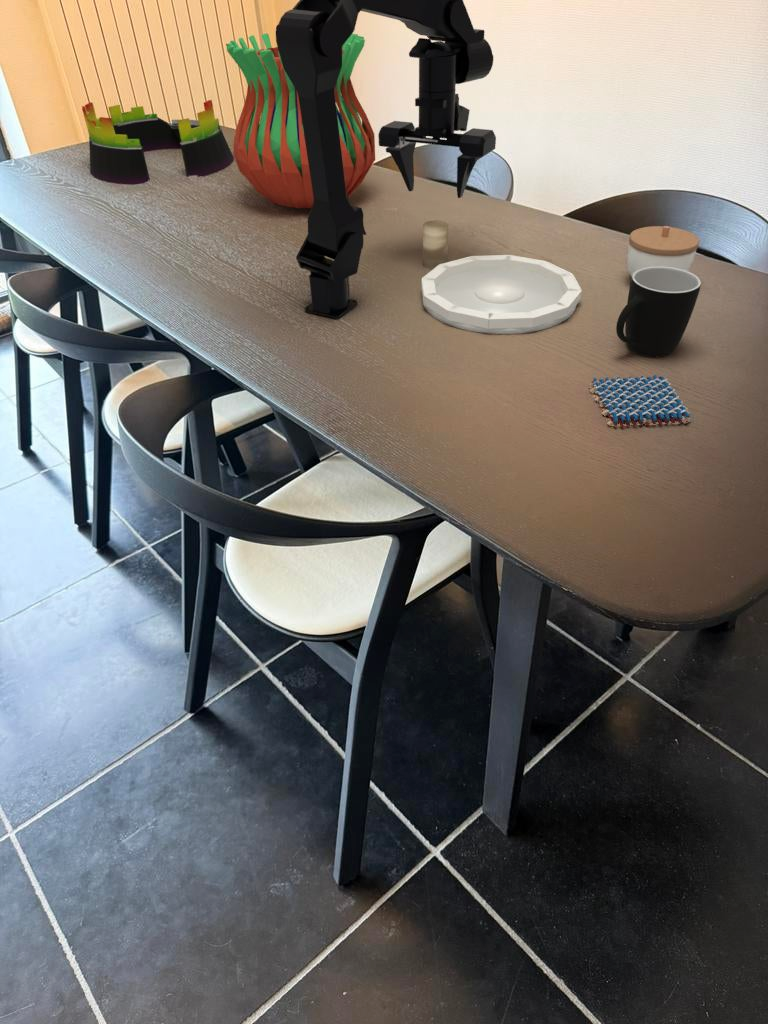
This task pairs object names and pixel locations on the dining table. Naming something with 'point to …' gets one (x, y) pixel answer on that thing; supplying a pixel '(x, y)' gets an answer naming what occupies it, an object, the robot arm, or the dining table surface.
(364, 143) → the vase
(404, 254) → the dining table surface
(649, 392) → the woven mat
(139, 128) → the decorative container
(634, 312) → the mug
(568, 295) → the ring tray
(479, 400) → the dining table surface
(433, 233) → the tan rounded cylinder
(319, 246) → the robot arm
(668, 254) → the lidded jar
